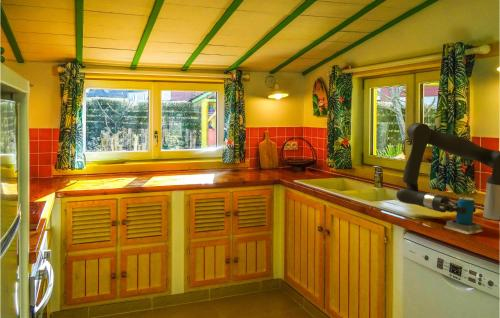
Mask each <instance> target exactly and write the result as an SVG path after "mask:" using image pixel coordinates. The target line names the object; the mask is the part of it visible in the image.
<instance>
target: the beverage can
mask: <svg viewBox="0 0 500 318" xmlns="http://www.w3.org/2000/svg"><path fill="white" fill-rule="evenodd" d="M474 199H475V198H473V197H466V196H459V199H457V202H458V205H457V207H460V208H465V209H466V214H463V213H459V212H456V213H455V214H456V216H455V220H456V223H458V224H461V225H465V226H470V225H472V222H473V219H474V213H475V212H474V207H475V203H476V202H475V200H474Z"/></svg>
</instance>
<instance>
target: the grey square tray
mask: <svg viewBox="0 0 500 318" xmlns="http://www.w3.org/2000/svg"><path fill="white" fill-rule="evenodd" d="M482 225H483V224H480V223H476V222H473V221H472V225H470V226H465V225H461V224H458V223H456V219H453V220H446V223H445V225H444V229H448V230H450V231H451V230H452V231H455V232H458V233H462V234H466V235H472V234H477V233H481V232H484V229H482Z"/></svg>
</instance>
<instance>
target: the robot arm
mask: <svg viewBox="0 0 500 318" xmlns="http://www.w3.org/2000/svg"><path fill="white" fill-rule="evenodd" d="M406 135H407V138H409V139H410V140H411V141H412V143H411V144H412V146H411V150H410V154H409V156H408V158H407V160H406V163H405V166H404V169H403V175H402V181H403V183H404V184H406V187H405V188H404V187H401V188H399V189H398V190H397V191H396V198H397V200H398V201H399V202H400V203H403V204H409V205H416V206H419V207H423V208H426V209H429V210H432V211H436V212H440V213H446V212H449V213H457V212H459V213H463V214H466V209H465V208H460V207H457V205H458V201H455V200H453V201H452V200H451V199H450V197H448V196H445V195H442V194H438V193H431V192H426V191H419V183H418V182H419V181H418V180H419V177H420V171H421V165H422V162H423V157H424V154H425V152H426V148H427V145H429V146H433V147H435V148H437V149H439V150H441V151H443V152H444V153H445V152H446V153H448V154H450V155H453V156H456V157H460V158H462V159H467V160H471V161H475V162H478V163H480V164H483V165H485V166H487V167H489V168H491V169H492V171H491V174H490V176H488V177H487V178H486V187H485V196H484V202H483V203H484V204H483V214H482V217H483V218H484V219H489V220H493V221H500V150H495V149H491V148H486V147H483V146H480V145H478V144H477V143H475V142H473V141H472V140H469V139H467V138H464V137H462V136H459V135H457V134H456V135H455V134H451V133H446V132H443V131H442V132H441V131H437V130H435V129H432V128H431V127H430V126H429V125H427V124H426V123H422V122H414V123H411V124H410V125H408V127H407V129H406ZM476 210H477V208H476V207H475V206H474V212H473V213H476Z"/></svg>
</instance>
